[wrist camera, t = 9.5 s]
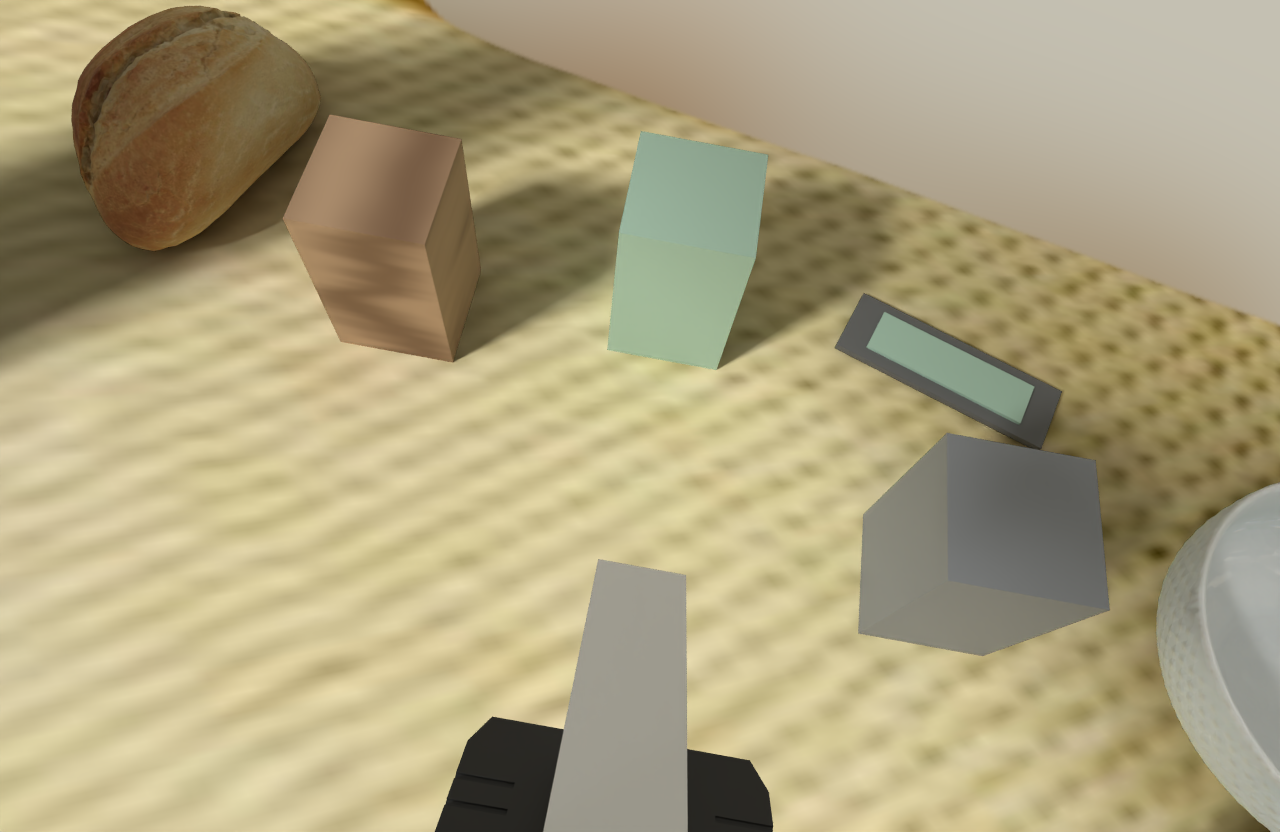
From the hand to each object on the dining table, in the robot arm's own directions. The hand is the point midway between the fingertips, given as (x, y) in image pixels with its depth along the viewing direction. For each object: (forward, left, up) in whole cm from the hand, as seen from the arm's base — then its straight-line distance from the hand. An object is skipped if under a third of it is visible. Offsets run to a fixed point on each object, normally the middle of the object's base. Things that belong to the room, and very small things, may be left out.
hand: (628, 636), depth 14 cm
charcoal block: (+10, +14, -24) cm, 30 cm away
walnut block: (-20, +14, -24) cm, 34 cm away
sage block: (-7, +21, -24) cm, 33 cm away
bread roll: (-34, +16, -24) cm, 45 cm away
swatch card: (+7, +26, -24) cm, 36 cm away
